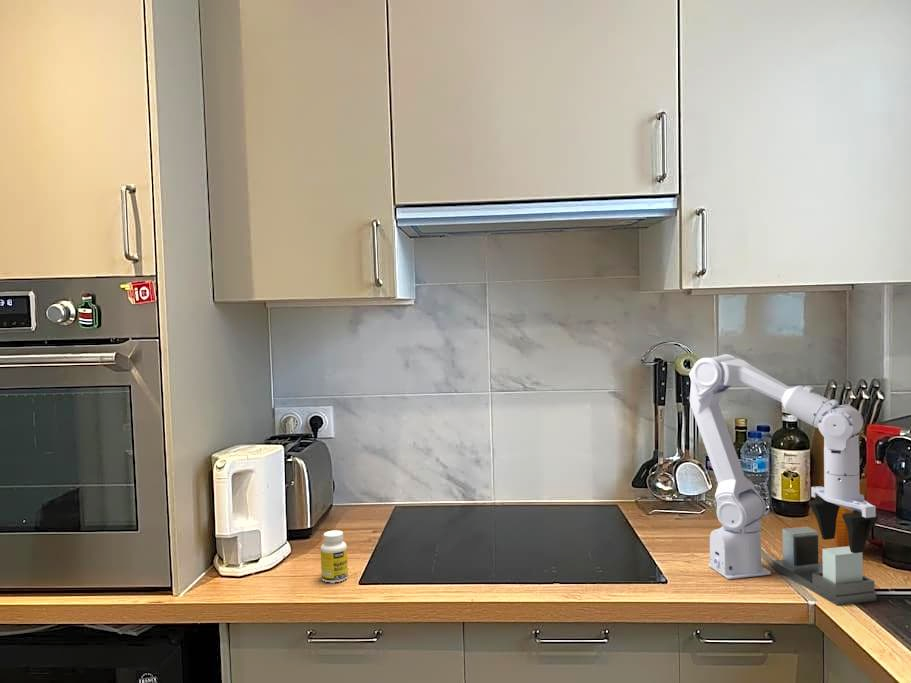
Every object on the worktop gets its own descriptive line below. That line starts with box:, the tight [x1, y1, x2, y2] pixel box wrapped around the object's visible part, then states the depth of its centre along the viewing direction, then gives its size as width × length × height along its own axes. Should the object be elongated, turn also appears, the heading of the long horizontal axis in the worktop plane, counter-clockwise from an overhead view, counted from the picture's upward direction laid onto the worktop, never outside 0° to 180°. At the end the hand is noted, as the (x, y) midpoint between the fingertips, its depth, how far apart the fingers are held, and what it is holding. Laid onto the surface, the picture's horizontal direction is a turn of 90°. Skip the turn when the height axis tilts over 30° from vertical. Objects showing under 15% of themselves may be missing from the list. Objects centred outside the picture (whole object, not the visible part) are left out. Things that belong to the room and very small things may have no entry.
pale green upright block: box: [822, 545, 864, 584], centre depth 133 cm, size 4×6×7 cm
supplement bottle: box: [320, 529, 349, 584], centre depth 151 cm, size 5×5×10 cm
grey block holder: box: [772, 526, 877, 606], centre depth 139 cm, size 8×19×8 cm, turn 10°
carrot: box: [834, 506, 853, 547], centre depth 156 cm, size 5×5×15 cm
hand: (842, 545), depth 133 cm, fingers open, 7 cm apart
